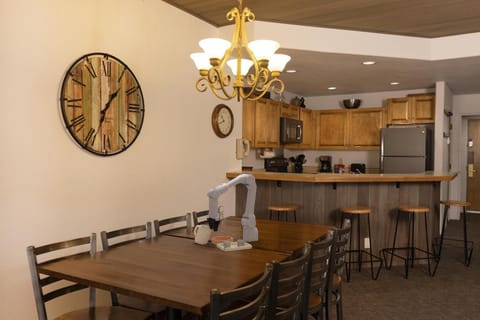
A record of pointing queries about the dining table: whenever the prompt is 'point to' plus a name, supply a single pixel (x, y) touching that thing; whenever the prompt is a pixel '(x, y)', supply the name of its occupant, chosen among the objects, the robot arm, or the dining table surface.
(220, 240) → the bowl
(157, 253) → the dining table surface
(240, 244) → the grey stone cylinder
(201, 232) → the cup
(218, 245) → the tray
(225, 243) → the pebble
